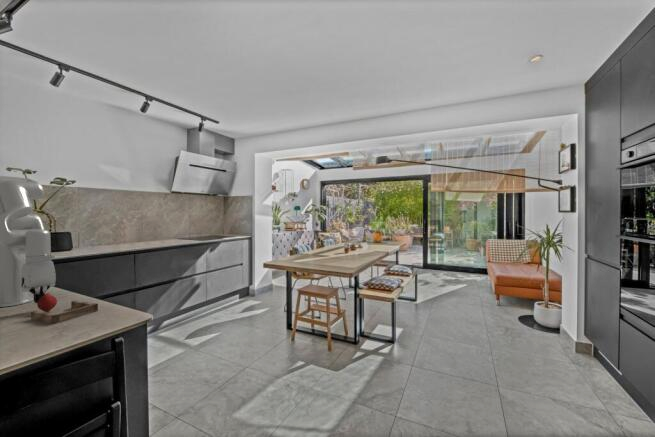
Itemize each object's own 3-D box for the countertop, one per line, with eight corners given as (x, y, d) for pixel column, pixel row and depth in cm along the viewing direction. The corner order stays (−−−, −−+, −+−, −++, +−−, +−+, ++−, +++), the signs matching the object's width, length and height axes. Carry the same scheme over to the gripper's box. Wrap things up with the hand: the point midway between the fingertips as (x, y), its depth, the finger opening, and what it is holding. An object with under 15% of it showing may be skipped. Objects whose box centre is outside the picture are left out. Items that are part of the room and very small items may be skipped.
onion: (44, 314, 116) (44, 295, 116) (33, 313, 117) (33, 294, 117) (60, 309, 122) (60, 291, 122) (49, 309, 123) (49, 290, 123)
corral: (31, 319, 111) (30, 311, 111) (75, 307, 125) (75, 300, 125) (54, 323, 107) (54, 315, 107) (97, 310, 121) (97, 303, 121)
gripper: (54, 256, 129) (55, 297, 129) (8, 261, 115) (9, 307, 115) (65, 257, 127) (66, 298, 127) (20, 262, 113) (21, 309, 113)
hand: (39, 302), depth 121 cm, fingers closed
